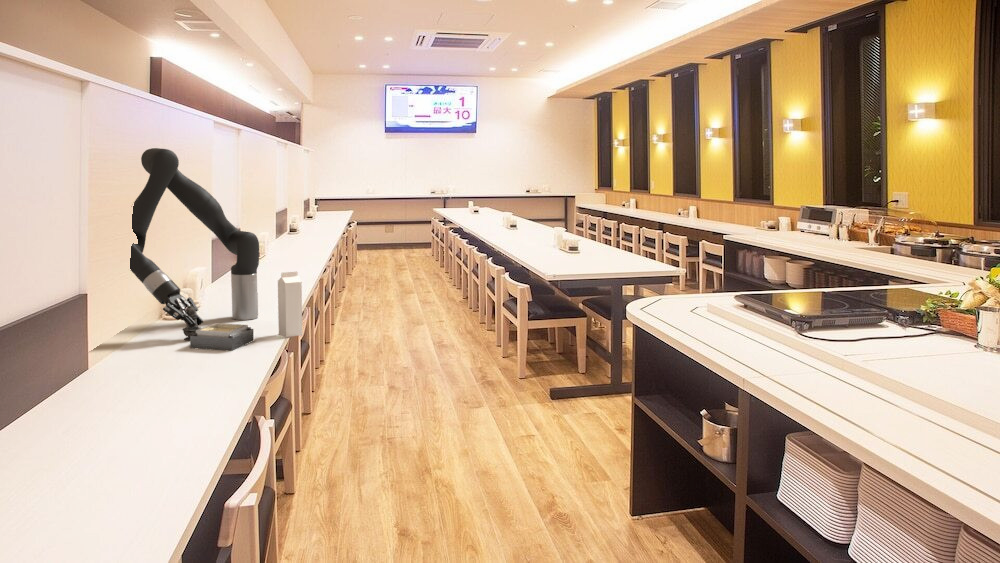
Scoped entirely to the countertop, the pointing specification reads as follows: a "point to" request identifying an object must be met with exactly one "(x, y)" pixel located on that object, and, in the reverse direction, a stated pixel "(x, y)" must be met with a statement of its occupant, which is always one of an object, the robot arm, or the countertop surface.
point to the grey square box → (221, 337)
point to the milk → (290, 304)
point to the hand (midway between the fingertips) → (197, 324)
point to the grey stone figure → (187, 330)
